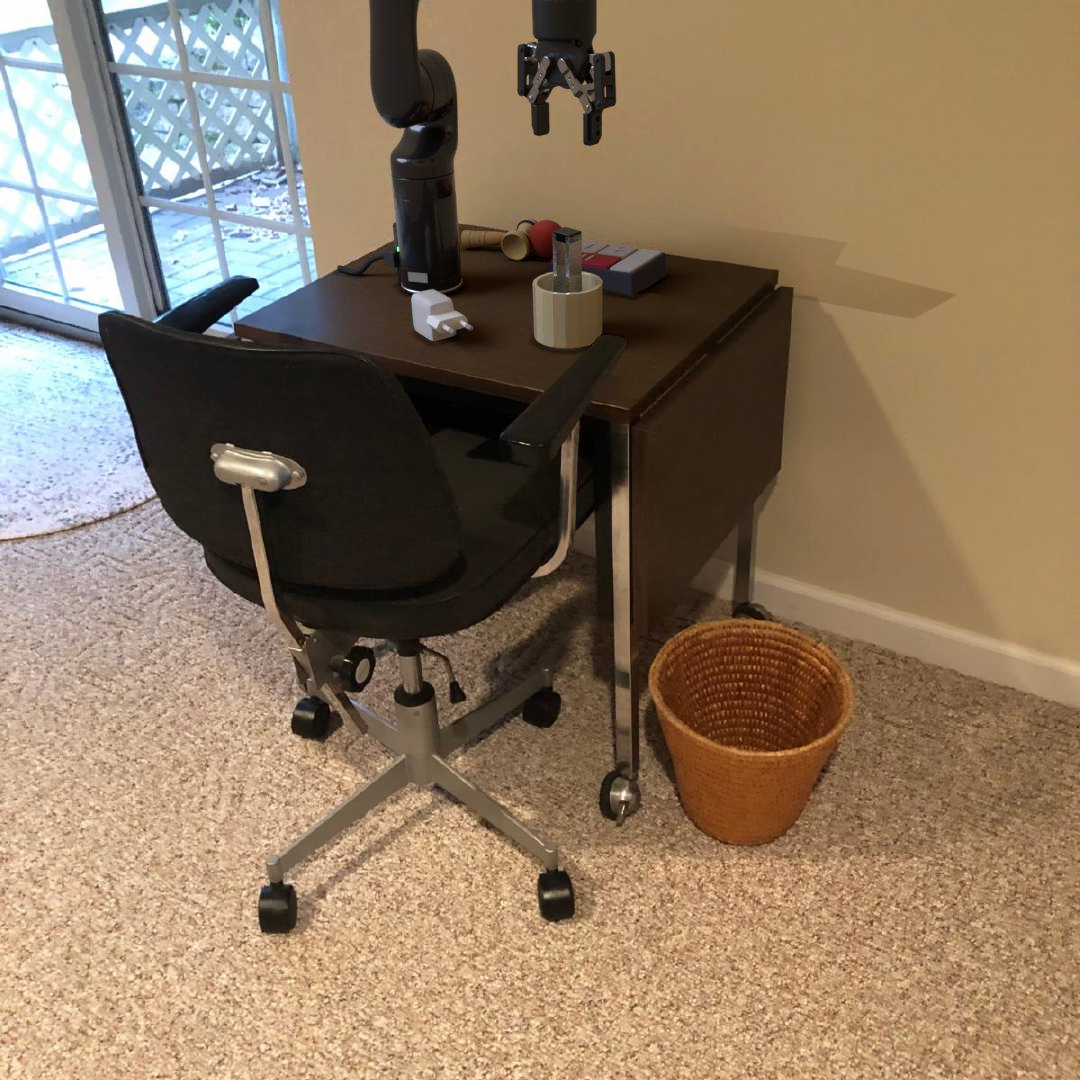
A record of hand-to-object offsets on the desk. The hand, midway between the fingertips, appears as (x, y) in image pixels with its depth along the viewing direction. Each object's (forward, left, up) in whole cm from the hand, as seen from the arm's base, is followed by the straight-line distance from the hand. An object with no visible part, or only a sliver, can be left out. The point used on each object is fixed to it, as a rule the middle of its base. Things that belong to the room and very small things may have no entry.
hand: (565, 139), depth 132 cm
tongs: (0, 0, -26) cm, 26 cm away
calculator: (-12, +21, -26) cm, 36 cm away
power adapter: (-12, -12, -26) cm, 31 cm away
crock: (0, 0, -26) cm, 26 cm away
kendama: (-32, +20, -26) cm, 46 cm away
